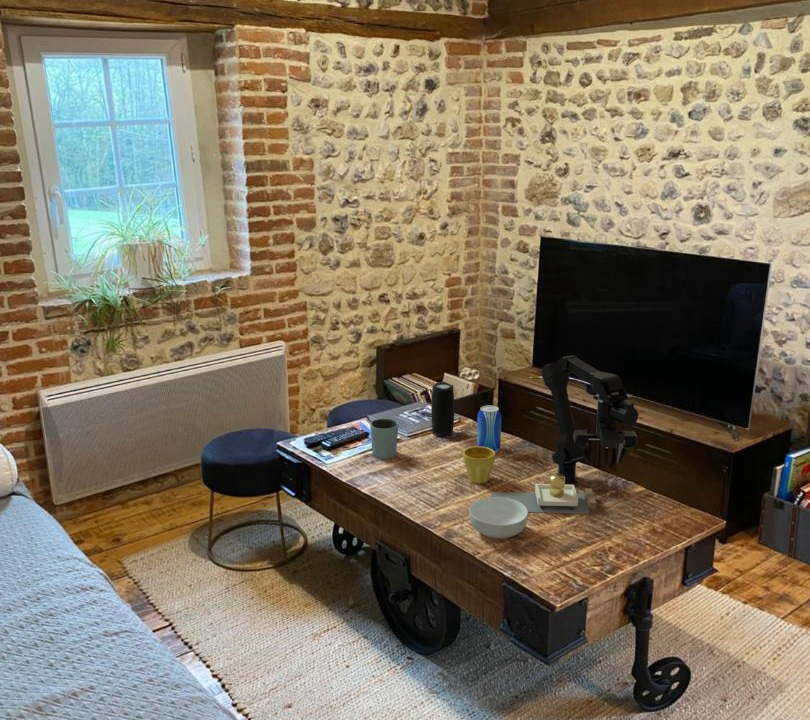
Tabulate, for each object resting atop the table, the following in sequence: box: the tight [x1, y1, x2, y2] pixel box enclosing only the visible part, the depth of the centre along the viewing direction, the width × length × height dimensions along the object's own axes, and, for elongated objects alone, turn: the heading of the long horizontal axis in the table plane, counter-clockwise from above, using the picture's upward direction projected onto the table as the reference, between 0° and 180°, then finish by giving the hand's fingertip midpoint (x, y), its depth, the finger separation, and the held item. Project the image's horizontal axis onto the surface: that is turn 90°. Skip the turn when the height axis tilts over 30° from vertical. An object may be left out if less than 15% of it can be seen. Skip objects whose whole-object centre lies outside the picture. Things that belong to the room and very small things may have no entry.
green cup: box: [369, 417, 399, 460], centre depth 284 cm, size 10×10×12 cm
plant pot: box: [462, 445, 496, 485], centre depth 264 cm, size 10×10×10 cm
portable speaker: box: [430, 381, 455, 438], centre depth 302 cm, size 9×9×20 cm
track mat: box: [491, 491, 591, 515], centre depth 249 cm, size 13×29×1 cm, turn 86°
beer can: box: [476, 404, 502, 454], centre depth 287 cm, size 8×8×16 cm
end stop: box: [584, 487, 597, 513], centre depth 247 cm, size 10×2×3 cm, turn 176°
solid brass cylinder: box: [549, 472, 566, 497], centre depth 246 cm, size 4×4×6 cm
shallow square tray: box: [534, 483, 578, 510], centre depth 248 cm, size 10×12×4 cm
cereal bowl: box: [468, 496, 529, 539], centre depth 230 cm, size 17×17×7 cm
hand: (603, 463), depth 248 cm, fingers open, 9 cm apart
